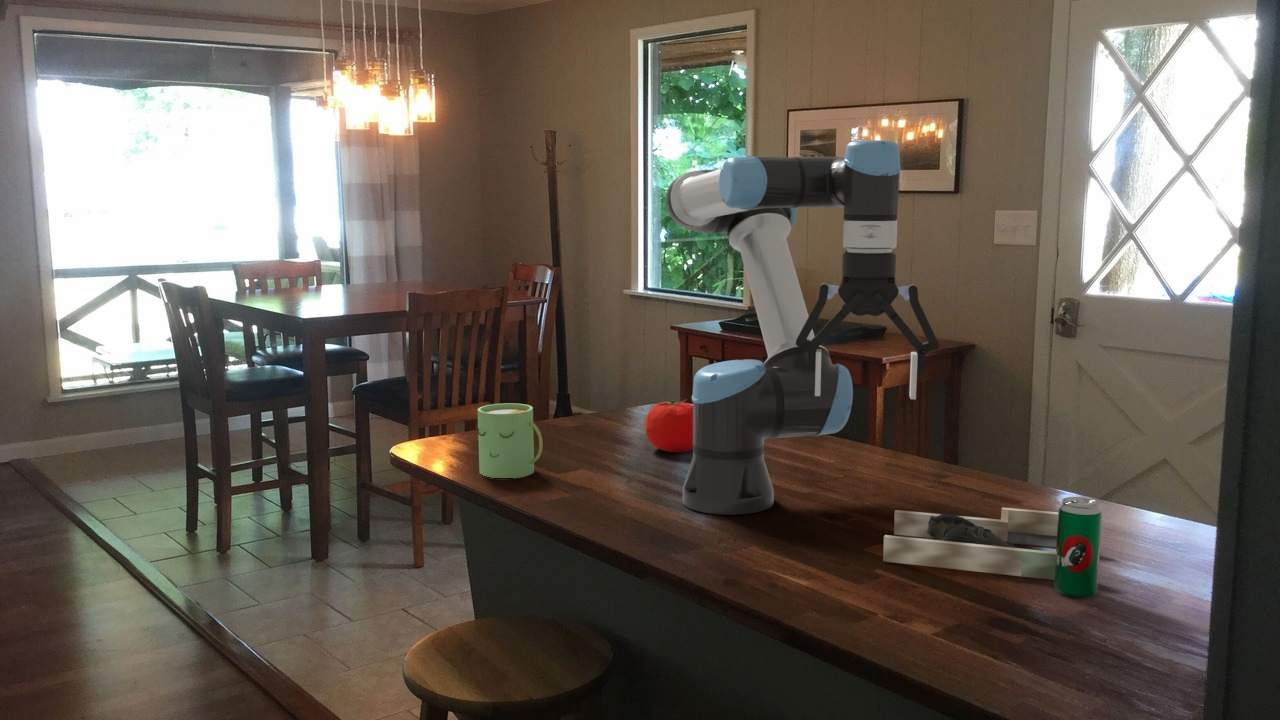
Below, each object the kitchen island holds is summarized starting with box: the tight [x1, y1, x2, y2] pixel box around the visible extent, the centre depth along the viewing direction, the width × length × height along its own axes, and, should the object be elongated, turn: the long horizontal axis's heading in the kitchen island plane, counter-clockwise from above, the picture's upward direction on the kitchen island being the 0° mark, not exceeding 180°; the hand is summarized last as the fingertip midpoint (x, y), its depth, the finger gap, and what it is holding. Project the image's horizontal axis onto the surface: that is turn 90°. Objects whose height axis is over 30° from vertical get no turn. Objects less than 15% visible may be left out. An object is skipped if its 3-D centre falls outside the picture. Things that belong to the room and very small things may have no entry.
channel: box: [882, 507, 1058, 581], centre depth 150 cm, size 27×20×4 cm
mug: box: [477, 402, 544, 479], centre depth 194 cm, size 13×10×12 cm
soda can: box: [1053, 496, 1103, 599], centre depth 133 cm, size 5×5×12 cm
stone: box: [927, 513, 1018, 548], centre depth 148 cm, size 7×13×5 cm, turn 55°
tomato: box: [644, 398, 693, 453], centre depth 210 cm, size 12×12×10 cm
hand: (864, 396), depth 154 cm, fingers open, 13 cm apart
